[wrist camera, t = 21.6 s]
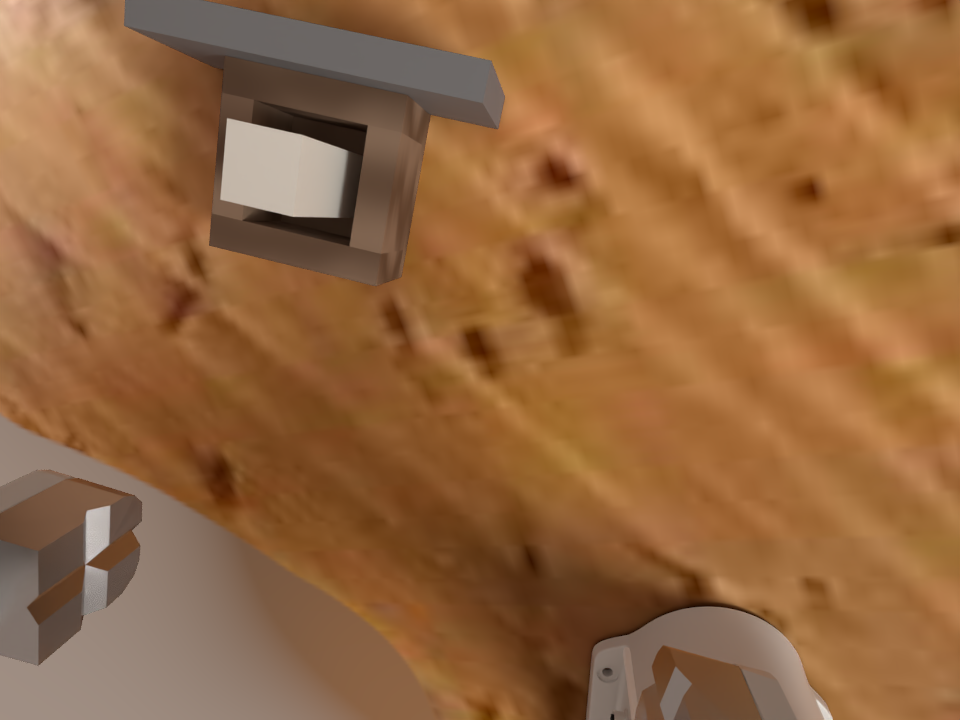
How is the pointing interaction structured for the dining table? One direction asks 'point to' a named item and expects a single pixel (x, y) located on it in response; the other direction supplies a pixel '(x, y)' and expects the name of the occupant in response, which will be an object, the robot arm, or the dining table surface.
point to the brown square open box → (347, 125)
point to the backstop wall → (325, 55)
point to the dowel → (288, 172)
